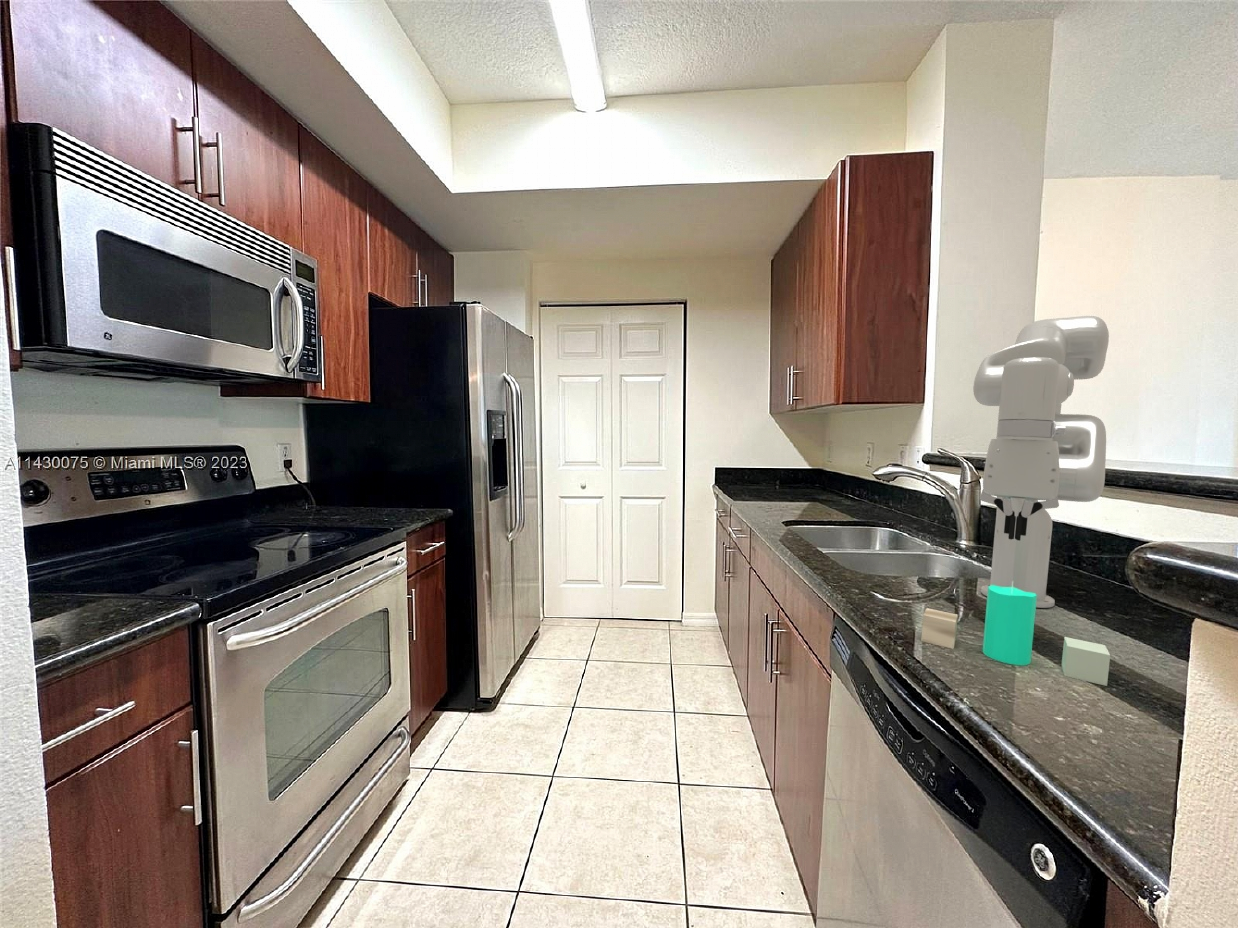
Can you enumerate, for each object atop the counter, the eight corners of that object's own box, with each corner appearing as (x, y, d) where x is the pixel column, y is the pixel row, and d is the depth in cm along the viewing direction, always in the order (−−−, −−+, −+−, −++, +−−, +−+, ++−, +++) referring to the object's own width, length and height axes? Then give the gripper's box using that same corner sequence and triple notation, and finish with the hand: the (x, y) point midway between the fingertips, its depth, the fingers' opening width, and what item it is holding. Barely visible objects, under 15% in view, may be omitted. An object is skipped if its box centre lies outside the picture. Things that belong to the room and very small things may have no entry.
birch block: (924, 633, 88) (926, 608, 88) (955, 640, 86) (957, 614, 85) (921, 641, 85) (923, 614, 85) (953, 649, 82) (955, 621, 82)
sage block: (1061, 665, 78) (1064, 636, 77) (1101, 675, 75) (1105, 645, 75) (1064, 676, 74) (1067, 645, 74) (1106, 686, 71) (1110, 655, 71)
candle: (1039, 667, 76) (1046, 588, 76) (994, 662, 78) (1001, 584, 77) (1017, 651, 82) (1023, 577, 82) (975, 646, 84) (981, 574, 83)
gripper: (1080, 434, 86) (1069, 543, 87) (972, 431, 95) (963, 530, 96) (1086, 432, 80) (1074, 549, 81) (970, 429, 89) (960, 534, 90)
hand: (1014, 538), depth 88 cm, fingers closed
